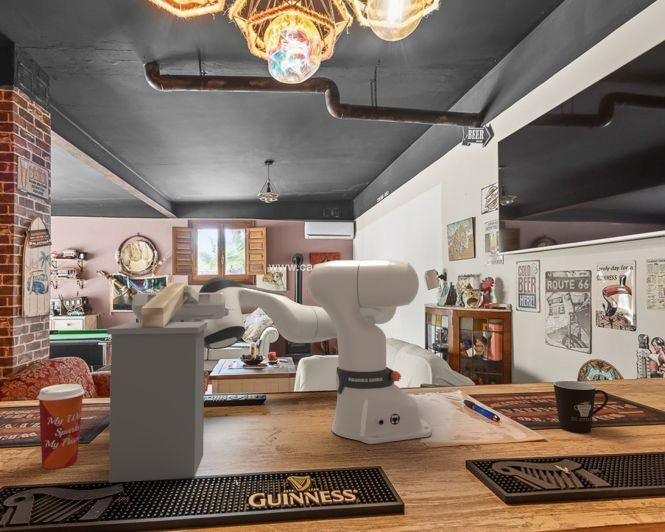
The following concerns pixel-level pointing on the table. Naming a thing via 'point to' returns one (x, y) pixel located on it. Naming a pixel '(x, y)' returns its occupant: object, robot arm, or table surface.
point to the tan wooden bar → (163, 306)
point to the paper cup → (60, 424)
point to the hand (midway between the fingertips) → (175, 289)
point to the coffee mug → (576, 405)
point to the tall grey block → (156, 401)
